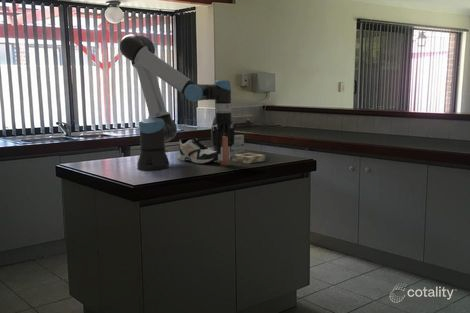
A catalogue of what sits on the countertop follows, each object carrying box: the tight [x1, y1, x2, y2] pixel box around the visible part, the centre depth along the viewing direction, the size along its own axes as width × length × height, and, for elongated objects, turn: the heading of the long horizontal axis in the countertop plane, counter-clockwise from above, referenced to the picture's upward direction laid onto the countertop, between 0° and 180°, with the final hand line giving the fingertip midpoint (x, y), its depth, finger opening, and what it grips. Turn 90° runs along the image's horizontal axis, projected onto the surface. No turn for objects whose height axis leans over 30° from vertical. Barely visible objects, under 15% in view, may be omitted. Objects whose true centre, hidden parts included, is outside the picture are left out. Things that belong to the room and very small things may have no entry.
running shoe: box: [177, 137, 219, 165], centre depth 246 cm, size 11×30×12 cm, turn 47°
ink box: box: [230, 134, 245, 158], centre depth 261 cm, size 9×5×12 cm, turn 84°
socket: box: [231, 152, 266, 164], centre depth 247 cm, size 12×12×3 cm
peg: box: [219, 136, 229, 166], centre depth 235 cm, size 4×4×14 cm
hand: (224, 159), depth 236 cm, fingers closed on peg, 4 cm apart
